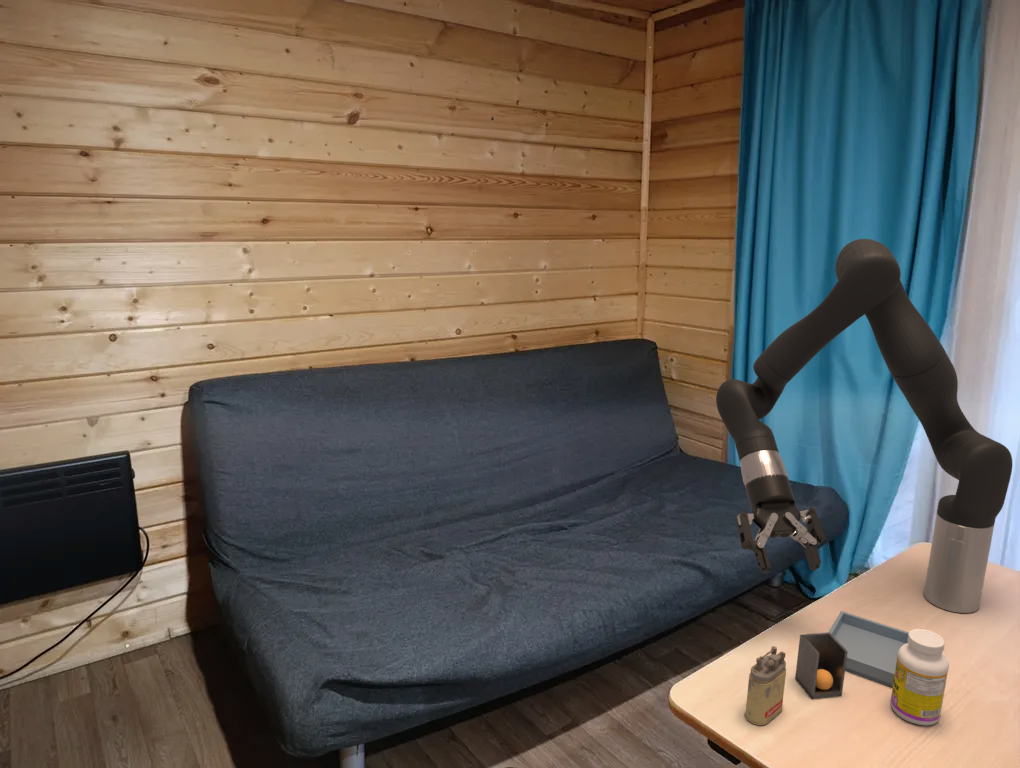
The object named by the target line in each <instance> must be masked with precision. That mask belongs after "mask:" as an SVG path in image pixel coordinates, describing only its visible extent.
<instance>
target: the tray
mask: <svg viewBox="0 0 1020 768" xmlns="http://www.w3.org/2000/svg"><path fill="white" fill-rule="evenodd" d="M829 632H830V633H831V634H832V635H833V636H834V637H835V638H836V639H837V641H838V642H839V643H840V644H841V645H842V646H843V647H844V648H845V649H846V650H847V651H848V653H847V661H846V668H845V672H848V673H851V674H854V675H856V676H858V677H862V678H864V679H867V680H870V681H873V682H874V683H878V684H880V685H881V684H882V685H884V686H886V687H889V688H893V681H894V675H895V669H896V662H897V656H898V651H899V649H900V647H901V646H903V645H904V644H907V643H908V641H907V639H908V634H909V632H910V631H905V630H903V629H900V628H897V627H894V626H891V625H887V624H885V623H884V624H883V623H881V622H878V621H875V620H872V619H868V618H865V617H861V616H859V615H856V614H852V613H849V612H847V611H843V610H840V612H839V614H838V615H837V617H836V619H835V620H834V621H833V624H832V625H831V627H830V629H829V630H828V632H827V633H829Z"/></svg>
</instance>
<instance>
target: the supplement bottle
mask: <svg viewBox="0 0 1020 768" xmlns="http://www.w3.org/2000/svg"><path fill="white" fill-rule="evenodd" d="M908 632H909V634H908V639H907V641H908V643H907V644H904V645H903V646H901V647H900V649H899V651H898V656H897V662H896V669H895V675H894V681H893V688H892V689H891V694H890V696H891V697H890V706H891V708H892V710H893V712H894V713H895V714H896V715H897V716H899V717H900V718H901V719H902V720H904V721H906V722H908V723H911V724H914V725H915V724H916V725H917V726H918V725H920V726H932V725H935V724H936V723H938V722H939V720H940V718H941V713H942V708H943V703H944V696H945V692H946V691H945V690H946V684H947V678H948V673H949V668H950V663H949V660H948V657H947V656H946V655H945V654H944V653H943V652H944V651H945V645H946V644H945V642H946V641H945V640H944V638H943V637H942V636H941V635H939V634H938V633H936V632H934V631H931V630H928V629H923V628H914V629H911V630H910V631H908Z"/></svg>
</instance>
